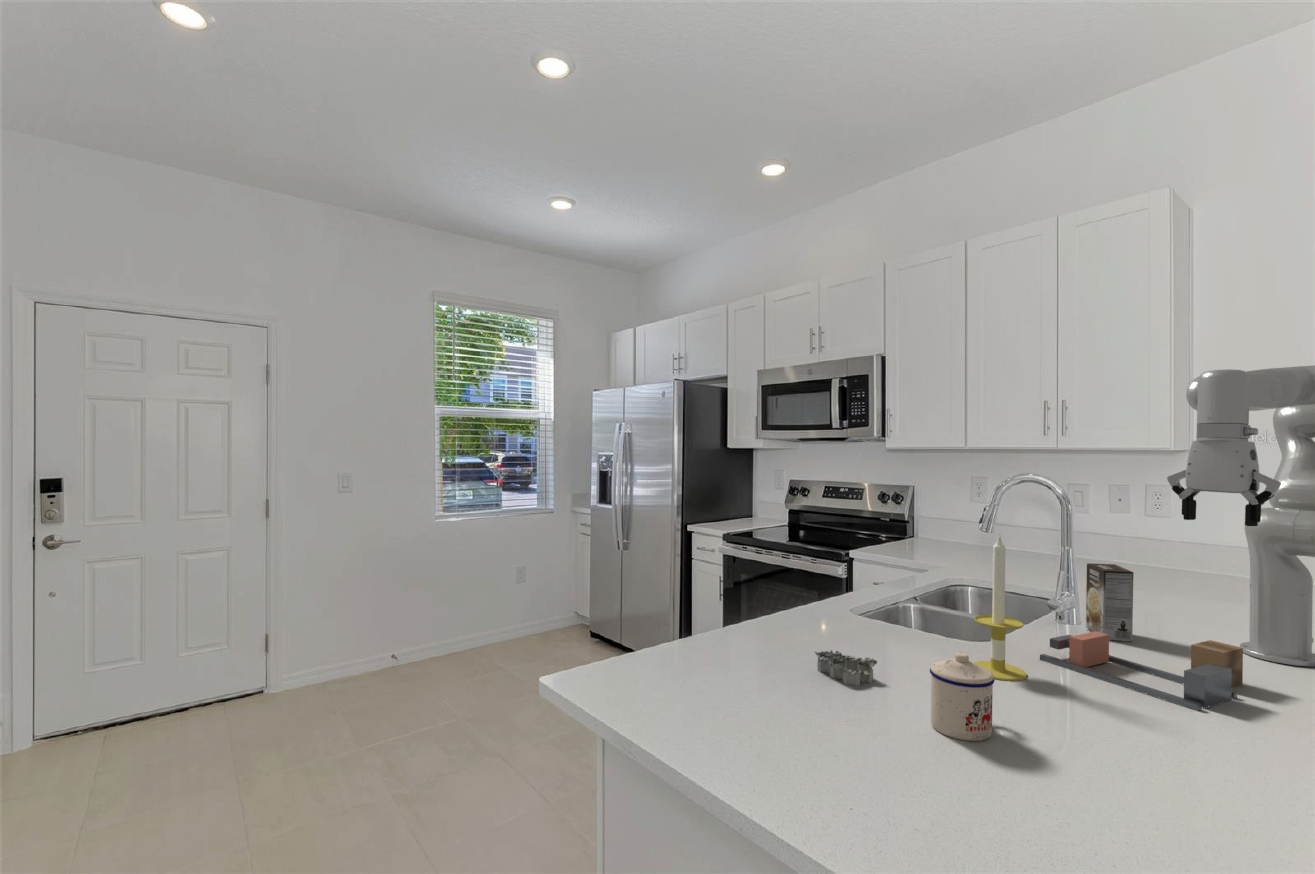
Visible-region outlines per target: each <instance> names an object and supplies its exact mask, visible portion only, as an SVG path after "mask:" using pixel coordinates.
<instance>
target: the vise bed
mask: <svg viewBox="0 0 1315 874" xmlns="http://www.w3.org/2000/svg"><path fill="white" fill-rule="evenodd" d="M1039 660H1041V661H1043V660H1044V662H1046V661H1047V662H1046V663H1049V662H1050V663H1049V664H1053V665H1055V666H1058V665H1060V667H1061V666H1062V668H1064V667H1065V668H1064V669H1068V670H1071V671H1074V670H1075V672H1077V673H1080V674H1082V675H1083V674H1084V675H1086V674H1088V675H1087V676H1089V675H1090V676H1089V677H1093V678H1094V679H1095V678H1096V679H1099V680H1101V679H1102V681H1104V682H1105V681H1106V682H1108V683H1111V684H1114V683H1115V684H1114V685H1117V684H1118V685H1117V686H1120V685H1121V686H1120V687H1123V686H1124V687H1123V688H1126V689H1129V688H1131V689H1130V690H1132V689H1134V690H1133V691H1135V690H1137V691H1136V692H1138V691H1140V692H1139V693H1141V692H1143V693H1142V694H1144V693H1147V694H1150V695H1152V696H1151V697H1153V696H1155V697H1154V698H1156V697H1160V698H1162V699H1161V700H1163V699H1165V700H1164V701H1166V700H1167V701H1166V702H1169V703H1172V702H1174V703H1173V704H1175V703H1176V705H1178V704H1180V705H1179V706H1181V705H1182V707H1184V706H1186V707H1185V708H1187V707H1189V708H1188V709H1190V708H1191V710H1193V709H1194V710H1193V711H1196V712H1200V711H1202V710H1203V708H1206V707H1208V706H1212V707H1214V706H1213V705H1215V706H1217V705H1216V704H1218V705H1220V704H1219V703H1221V704H1223V703H1222V702H1224V703H1226V701H1227V702H1229V700H1230V701H1232V700H1236V699H1238V692H1236V691H1235V690H1234V691H1233V690H1232V688H1231V682H1232V669H1231V668H1227V667H1223V666H1219V665H1216V664H1212V663H1210V664H1206V665H1203V666H1199V667H1195V668H1192V669H1191V668H1189V669H1185V670H1183V676H1182V675H1178V674H1176V673H1171V672H1168V671H1164V670H1162V669H1157V668H1155V667H1151V666H1147V665H1144V664H1141V663H1137V662H1134V661H1131V660H1127V659H1123V658H1121V657H1117V656H1113V655H1110V654H1109V662H1108V663H1111V662H1112V664H1115V665H1117V666H1118V665H1119V666H1121V665H1124V666H1123V667H1125V666H1126V667H1125V668H1128V667H1129V668H1128V669H1131V668H1132V669H1131V670H1135V671H1138V670H1140V671H1139V672H1141V671H1143V672H1142V673H1145V672H1146V673H1145V674H1149V675H1151V674H1154V675H1153V676H1155V675H1156V676H1155V677H1158V676H1159V678H1161V677H1162V678H1163V679H1165V680H1168V679H1171V680H1174V681H1173V682H1175V681H1177V682H1176V683H1178V682H1180V683H1179V684H1181V683H1184V684H1183V697H1181V696H1179V695H1175V694H1171V693H1168V692H1165V691H1162V690H1159V689H1155V688H1153V687H1150V686H1147V685H1144V684H1140V683H1137V682H1133V681H1130V680H1127V679H1124V678H1121V677H1117V676H1115V675H1111V674H1110V673H1109V674H1108V673H1105V672H1101V671H1099V670H1097V669H1093V668H1090V667H1084V666H1080V665H1077V664H1074V663H1071V662H1069V661H1067V660H1065V659H1061V658H1057V657H1056V656H1052V655H1048V654H1046V653H1041V654H1039ZM1171 680H1170V681H1171ZM1147 694H1146V695H1147ZM1150 695H1149V696H1150ZM1160 698H1159V699H1160ZM1232 698H1233V699H1232ZM1235 698H1236V699H1235ZM1202 707H1203V708H1202ZM1206 709H1207V708H1206ZM1199 710H1200V711H1199Z"/></svg>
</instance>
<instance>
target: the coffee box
mask: <svg viewBox="0 0 1315 874" xmlns="http://www.w3.org/2000/svg"><path fill="white" fill-rule="evenodd" d="M1134 574H1135V573H1134V571H1131V570H1130V569H1127V568H1124V567H1122V566H1121V565H1117V564H1115V563H1114V564H1113V563H1086V585H1085V586H1086V592H1085V593H1086V594H1085V595H1086V596H1085V597H1086V598H1085V599H1086V601H1085V608H1086V609H1085V629H1086V628H1088V629H1089V630H1090V631H1089V630H1088V629H1087V630H1088V631H1089V632H1090V633H1091V632H1095V631H1097V632H1101V633H1104V634H1108V635H1109V641H1112V640H1122V641H1121V642H1128V641H1132V642H1133V621H1134V620H1133V617H1134V615H1133V614H1134V613H1133V612H1134Z"/></svg>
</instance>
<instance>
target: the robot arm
mask: <svg viewBox="0 0 1315 874" xmlns="http://www.w3.org/2000/svg"><path fill="white" fill-rule="evenodd" d="M1185 396H1186V400H1187V403H1188V404H1189V406H1190V407H1191V408H1192V410H1195V411H1196V436H1195V437H1196V440H1192V442H1191V446H1190V447H1189V452H1188V457H1187V461H1186V469H1184V470H1181V471H1179V472H1176V473H1174V474H1172V475H1168V476H1167V478H1166V479H1167V482H1168V483H1169V485H1170V487H1171V490H1172V491H1173V493H1175V494H1176V495H1177V496H1178V498H1179V499H1180V500H1181V515H1182V516H1183V517H1182V518H1183V520H1185V521H1195V520H1196V519H1197V500H1196V499H1194V498H1195V497H1196V496H1197V495H1198V494H1200V492H1208V493H1209V492H1210V493H1223V494H1225V493H1226V494H1240V495H1242V496H1243V498H1244V499H1245V500H1246V501H1247V502H1248V504H1245V505H1244V506H1245V507H1244V511H1245V512H1244V533H1245V539H1246V543H1247V547H1248V554H1249V571H1250V572H1249V641H1246V642H1241V643H1239V647H1241V648H1243V654H1246V655H1248V656H1251V657H1254V658H1257V659H1261V660H1264V661H1269V662H1273V663H1278V664H1284V665H1287V666H1288V665H1289V666H1299V667H1315V653H1313V643H1314V638H1313V594H1314V593H1313V588H1314V581H1313V580H1314V579H1313V575H1312V574H1311V572H1310V570H1309V569H1308V567H1307V566H1306V565H1305V564H1304V563H1303V562H1302V561H1301V559H1300V558H1299V556H1300V557H1312V558H1315V441H1314V439H1313V438H1315V365H1302V366H1299V365H1298V366H1288V367H1287V366H1286V367H1273V368H1264V369H1263V368H1262V369H1256V370H1255V369H1253V370H1248V371H1245V370H1241V369H1231V368H1229V369H1216V370H1215V369H1214V370H1208V371H1204V372H1203V373H1201V374H1200V375H1199V376H1197V377H1195V378H1193V379H1192V380H1191V381H1190V383H1188V386H1187V388H1186V393H1185ZM1265 410H1274V412H1273V416H1272V425H1273V430H1274V435H1275V439H1276V442H1277V444H1278V446H1279V449H1280V453H1281V460H1280V462H1279V465H1278V468H1277V470H1276V473H1275V475H1274V477H1273V478H1271V477H1269V476H1267V475H1265V474H1263V473H1261V472H1260V467H1259V466H1260V465H1259V458H1258V453H1257V448H1256V443H1255V442H1254V441H1249V439H1251V437H1252V436H1257V435H1258V434H1259V429H1258V428H1257V427H1251V425H1250V423H1249V422H1250V411H1251V412H1255V411H1265ZM1183 479H1185V486H1186V488H1184V487H1183V486H1182V485H1181V482H1180V481H1181V480H1183ZM1261 484H1264V485H1265V489H1264V490H1263V491H1261V492H1260V493H1259V494H1258V492H1259V490H1260V485H1261ZM1267 501H1269V504H1270V506H1271V507H1262V506H1264V504H1265V503H1266V502H1267Z"/></svg>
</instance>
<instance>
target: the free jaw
mask: <svg viewBox="0 0 1315 874" xmlns="http://www.w3.org/2000/svg"><path fill="white" fill-rule="evenodd" d="M1049 648H1052V649H1055V650H1058V651H1059V650H1063V649H1067V648H1068V651H1069V653H1068V654H1069V655H1068V657H1069V658H1068V659H1069V661H1068V662H1071V663H1074V664H1077V665H1080V666H1084V667H1087V668H1090V667H1092V666H1097V665H1101V664H1105V663H1110V662H1109V655H1110V640H1109V635H1108V634H1104V633H1101V632H1097V631H1095V632H1091V631H1090V632H1085V633H1082V634H1077V635H1072V634H1071V635H1070V634H1066V635H1060V636H1054V637H1050V638H1049Z"/></svg>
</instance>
